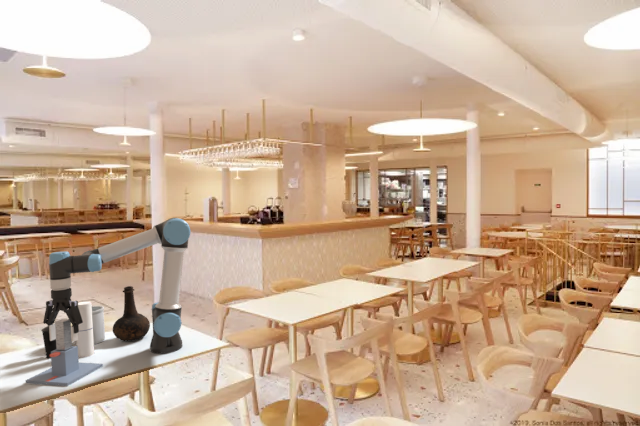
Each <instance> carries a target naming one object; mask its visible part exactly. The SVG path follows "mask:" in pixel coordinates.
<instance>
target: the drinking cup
mask: <svg viewBox="0 0 640 426" xmlns="http://www.w3.org/2000/svg"><path fill="white" fill-rule="evenodd" d="M40 330H41V332H42V337H43V338H42V339H43V344H44V352H45V356H46V357H45V358H46V359H51V357H50V354H51V351H53V350H56V349H57V347H56V339H55V340H52V341H50V334H49V332H48V325H47V326H44V328H43V327H42V329H40Z"/></svg>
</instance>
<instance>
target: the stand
mask: <svg viewBox="0 0 640 426" xmlns="http://www.w3.org/2000/svg"><path fill="white" fill-rule="evenodd" d="M50 357H51V358H50V361H51V362H50V363H51V367H50V368H48V369H46V370H44V371H42V372H40V373H38V374H36V375H34V376H31V377H29V378H27V379H25V384H31V385H33V384H34V385H46V386H47V385H48V386H63V387H65V386H66V387H68V386H70V385H72V384H74V383H76V382H77V380H78V381H79V380H81V379H83V378H85V377H86V376H88V375H90V374H92V373H93V372H96V371H97V370H99V369H101V368H103V366H104V365H103V363H96V362H95V363H94V362H79V361H80V360H79V357H78V346H77V345H74V346H73V345H72V348H71V349H69V350H67V351H57V349H56V350H53V351H51V354H50Z"/></svg>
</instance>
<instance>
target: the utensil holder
mask: <svg viewBox="0 0 640 426" xmlns="http://www.w3.org/2000/svg"><path fill="white" fill-rule="evenodd" d="M104 313H105V307H104V306H103V305H92V323H93V341H94V345H97V344H101V343H102V342H104V341H105V340H106V336H105V335H106V334H105V333H106V331H105V330H106V328H105V326H106V325H105V314H104ZM74 342H75V346H77V343H76V341H74Z"/></svg>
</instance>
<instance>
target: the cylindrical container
mask: <svg viewBox="0 0 640 426" xmlns="http://www.w3.org/2000/svg"><path fill="white" fill-rule="evenodd" d="M92 306H93V305H92V301H89V300H88V301H87V300H86V301H79V302H78V308H79V311H80V314H81V317H82V321H83V323H81V324H79V325H78V326H79V332H78V340H76V343H77V345H76V346H78V358H87V357H91V356H93V355H94V354H95V347H94V346H95V344H94V341H93V323H92ZM76 343H75V344H76Z"/></svg>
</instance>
